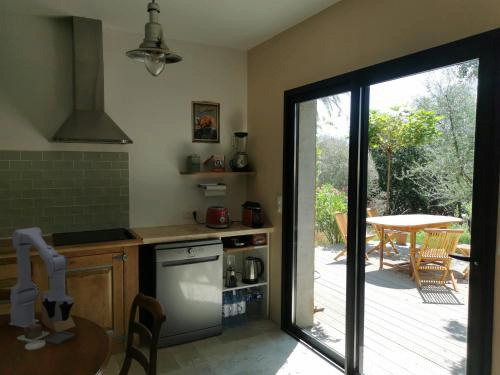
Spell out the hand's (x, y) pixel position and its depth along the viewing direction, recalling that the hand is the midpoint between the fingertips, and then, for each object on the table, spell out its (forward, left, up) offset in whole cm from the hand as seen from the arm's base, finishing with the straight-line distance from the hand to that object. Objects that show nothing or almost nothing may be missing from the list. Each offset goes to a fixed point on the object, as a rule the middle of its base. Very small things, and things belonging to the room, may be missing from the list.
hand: (58, 318), depth 158 cm
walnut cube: (-11, -3, -8) cm, 14 cm away
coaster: (-3, -9, -8) cm, 12 cm away
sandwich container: (-11, +10, -9) cm, 17 cm away
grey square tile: (0, 0, -8) cm, 8 cm away
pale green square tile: (-11, -3, -8) cm, 14 cm away
